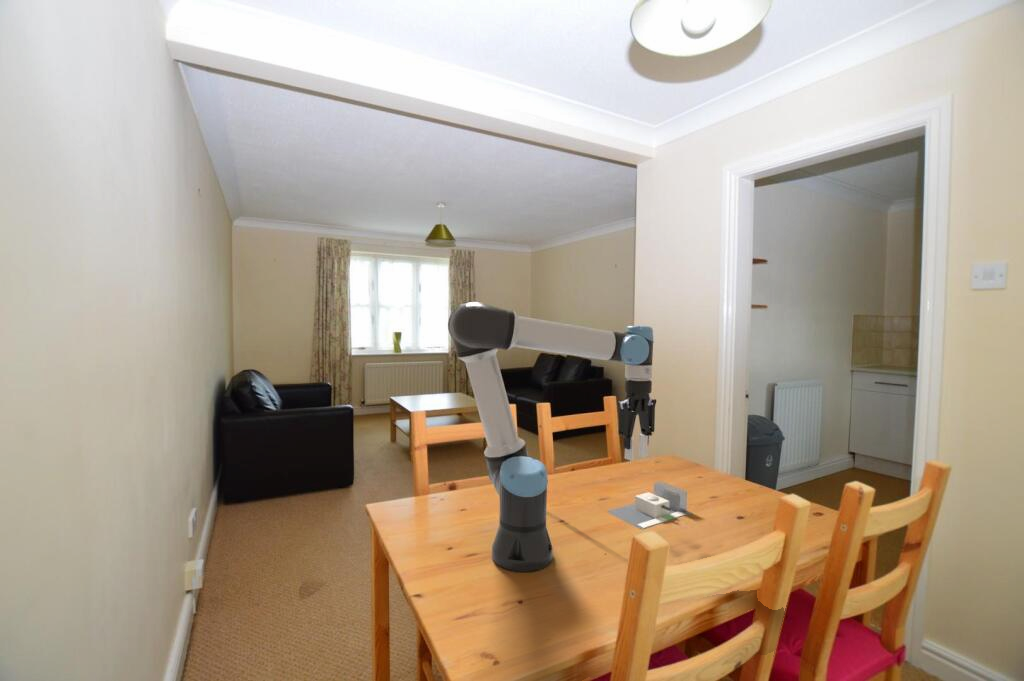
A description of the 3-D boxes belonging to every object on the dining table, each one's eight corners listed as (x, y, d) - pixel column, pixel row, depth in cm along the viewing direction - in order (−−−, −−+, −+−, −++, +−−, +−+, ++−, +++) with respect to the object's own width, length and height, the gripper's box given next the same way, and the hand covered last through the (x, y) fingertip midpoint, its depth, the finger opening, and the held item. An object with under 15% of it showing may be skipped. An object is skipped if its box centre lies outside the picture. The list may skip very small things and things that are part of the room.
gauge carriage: (662, 521, 134) (662, 507, 134) (634, 508, 143) (635, 495, 143) (676, 517, 137) (676, 503, 137) (648, 504, 146) (648, 491, 146)
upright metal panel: (679, 512, 140) (680, 493, 140) (653, 501, 149) (654, 482, 149) (686, 510, 142) (687, 491, 142) (660, 499, 151) (660, 481, 150)
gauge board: (641, 533, 129) (641, 528, 129) (606, 515, 141) (606, 510, 141) (692, 516, 141) (692, 511, 140) (655, 500, 152) (655, 496, 152)
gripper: (625, 382, 127) (623, 466, 128) (669, 378, 137) (666, 456, 138) (606, 379, 133) (604, 459, 135) (649, 375, 143) (647, 450, 144)
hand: (635, 457), depth 136 cm, fingers open, 5 cm apart
